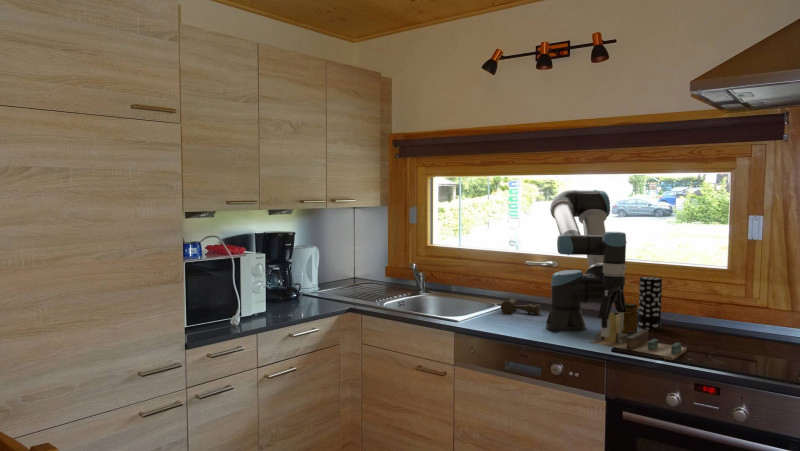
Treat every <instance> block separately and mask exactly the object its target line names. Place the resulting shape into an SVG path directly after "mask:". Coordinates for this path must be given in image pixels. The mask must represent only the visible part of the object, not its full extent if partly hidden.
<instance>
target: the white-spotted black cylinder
mask: <svg viewBox="0 0 800 451" xmlns="http://www.w3.org/2000/svg"><path fill="white" fill-rule="evenodd" d="M638 288H639V289H638V291H639V292H638V326H637V328H638V327H639V328H640V329H644V330H650V331H654V330H655V331H656V330H661V322H662V320H661V319H662V294H663V293H662V291H663V278H660V277H655V276H640V277H639V287H638Z"/></svg>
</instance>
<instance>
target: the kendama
mask: <svg viewBox="0 0 800 451" xmlns="http://www.w3.org/2000/svg"><path fill="white" fill-rule="evenodd" d="M496 305H497V306H500V309H501V312H502V313H503V314H508V315H511V314H512V313H513V312H514V311H516V310H521V311H525V312H527V314H531V313H532V314H535V315H536V316H540V314H541V304H540V303H537V304H532V303H529V304H525V305H524V304H522V305H521V304H520V305H519V301H518V300H516V299H515V298H509V299H507V300H504V301H502V303H496Z"/></svg>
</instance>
